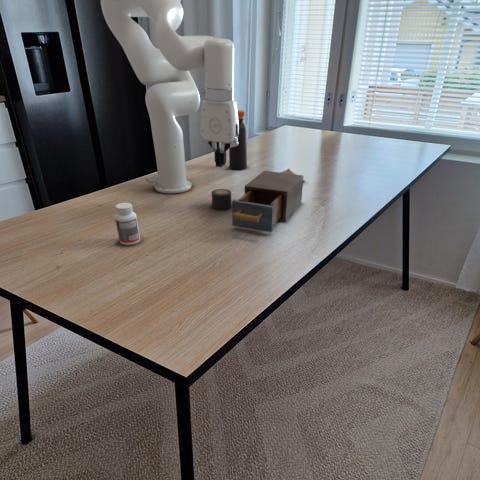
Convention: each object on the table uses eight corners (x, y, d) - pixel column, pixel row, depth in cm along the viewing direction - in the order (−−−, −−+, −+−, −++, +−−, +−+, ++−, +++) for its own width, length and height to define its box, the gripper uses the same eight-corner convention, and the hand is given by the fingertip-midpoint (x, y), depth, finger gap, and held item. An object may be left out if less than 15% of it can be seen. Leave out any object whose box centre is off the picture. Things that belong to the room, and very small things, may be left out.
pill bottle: (121, 237, 110) (114, 201, 104) (141, 236, 110) (135, 201, 104) (118, 246, 105) (111, 209, 100) (139, 245, 106) (133, 208, 100)
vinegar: (227, 169, 159) (225, 112, 147) (232, 164, 164) (232, 109, 152) (243, 170, 157) (243, 113, 145) (248, 165, 162) (249, 110, 150)
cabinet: (285, 222, 117) (287, 191, 112) (244, 215, 122) (244, 185, 116) (301, 203, 129) (303, 175, 124) (263, 198, 133) (264, 170, 128)
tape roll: (211, 210, 125) (211, 195, 122) (212, 203, 130) (211, 188, 127) (231, 209, 125) (231, 195, 122) (231, 202, 130) (231, 188, 127)
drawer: (265, 239, 106) (266, 214, 102) (225, 232, 110) (224, 207, 106) (288, 213, 120) (289, 189, 116) (252, 207, 124) (252, 184, 120)
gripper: (188, 94, 108) (191, 165, 119) (239, 99, 103) (238, 173, 114) (201, 90, 113) (204, 158, 124) (251, 95, 108) (249, 165, 120)
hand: (220, 165), depth 119 cm, fingers closed
